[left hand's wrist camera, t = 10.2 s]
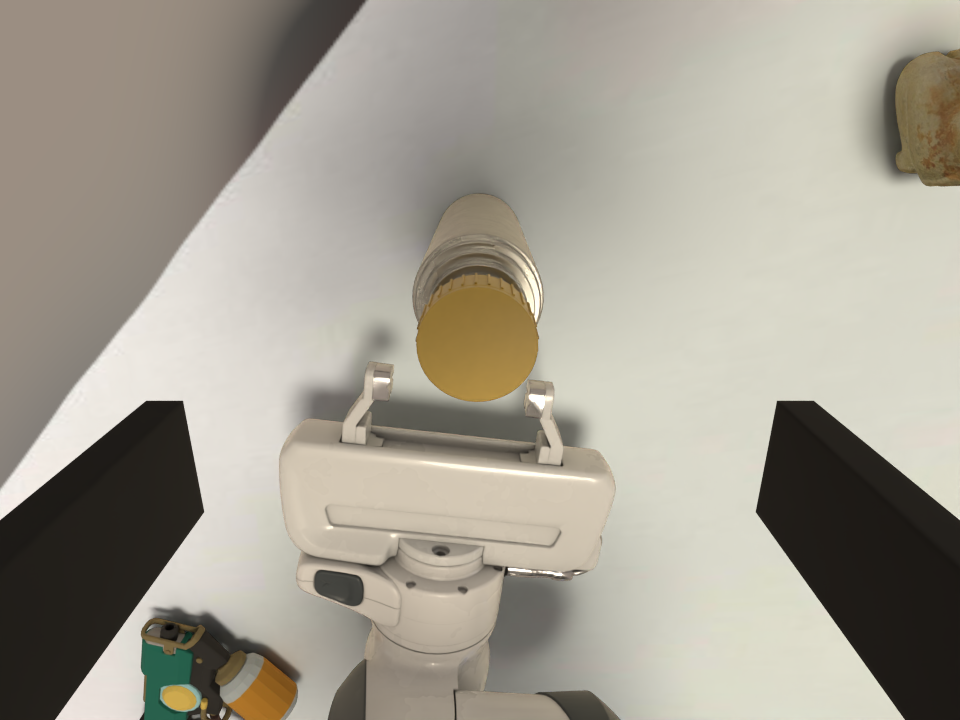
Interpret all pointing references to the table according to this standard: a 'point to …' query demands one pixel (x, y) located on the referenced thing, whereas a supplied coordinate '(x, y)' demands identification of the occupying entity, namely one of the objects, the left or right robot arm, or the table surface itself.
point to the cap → (477, 338)
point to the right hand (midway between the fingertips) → (461, 375)
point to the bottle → (478, 251)
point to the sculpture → (930, 118)
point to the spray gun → (208, 678)
